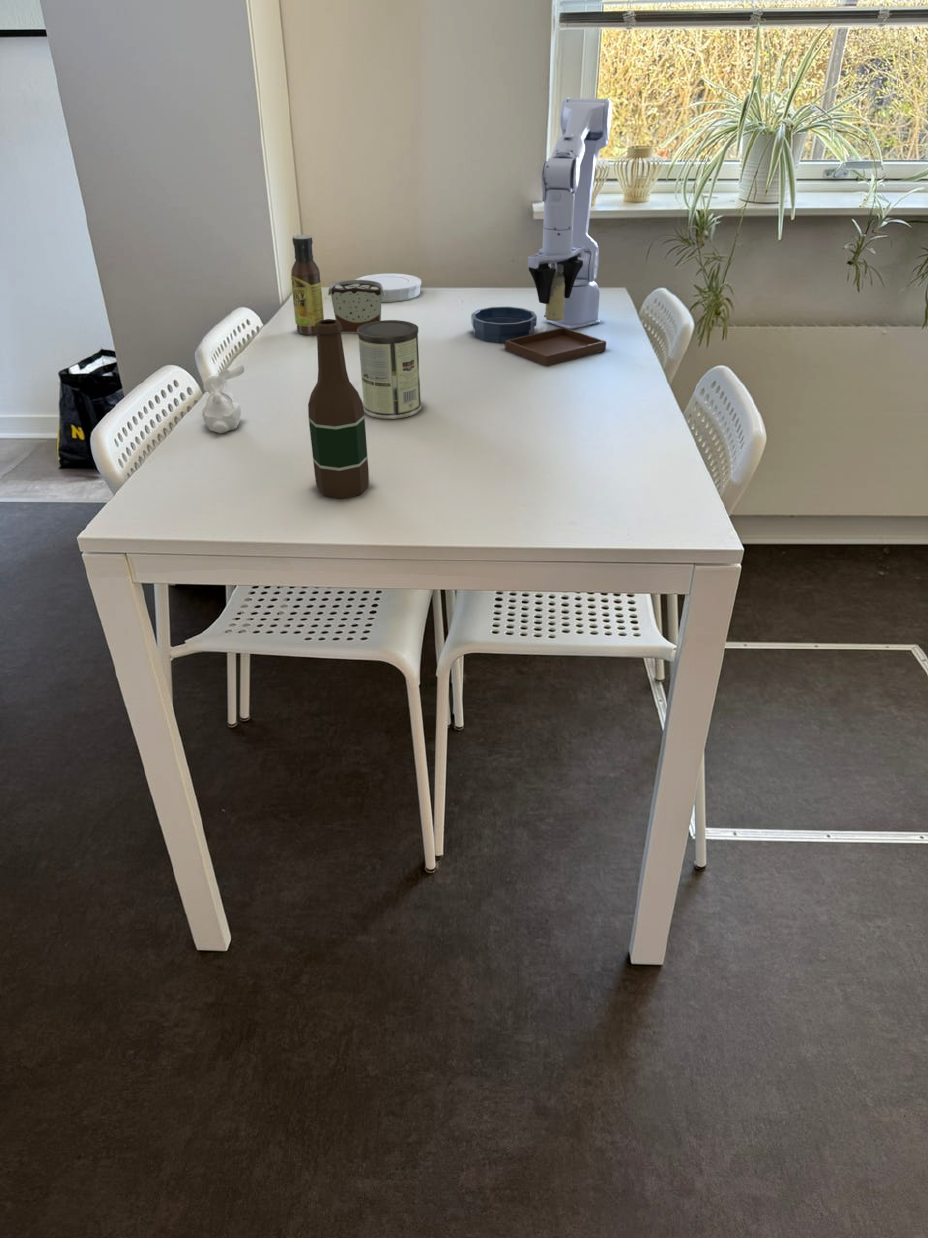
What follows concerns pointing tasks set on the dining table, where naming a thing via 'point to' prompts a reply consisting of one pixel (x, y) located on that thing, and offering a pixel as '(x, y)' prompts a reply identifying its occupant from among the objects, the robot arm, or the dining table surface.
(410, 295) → the lid
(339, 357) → the beer bottle
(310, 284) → the sauce bottle
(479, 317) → the bowl
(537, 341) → the tray
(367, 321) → the food container
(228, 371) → the rabbit figurine
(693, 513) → the dining table surface
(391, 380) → the coffee can
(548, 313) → the beige tall upright piece
